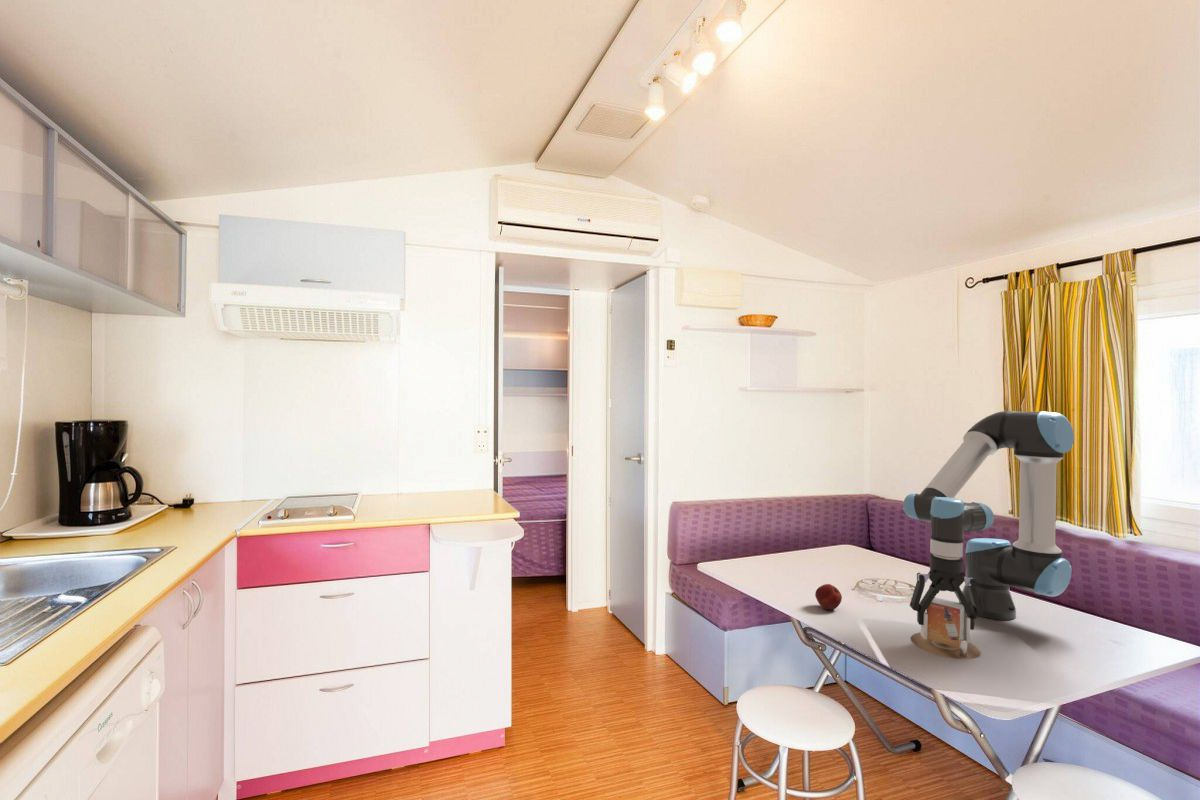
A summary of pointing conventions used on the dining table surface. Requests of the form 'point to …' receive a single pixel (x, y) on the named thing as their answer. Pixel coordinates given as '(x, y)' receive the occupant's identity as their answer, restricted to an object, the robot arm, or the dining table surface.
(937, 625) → the small box
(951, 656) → the flange base
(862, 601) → the dining table surface
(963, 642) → the stop pin
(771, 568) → the dining table surface
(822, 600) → the apple
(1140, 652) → the dining table surface
